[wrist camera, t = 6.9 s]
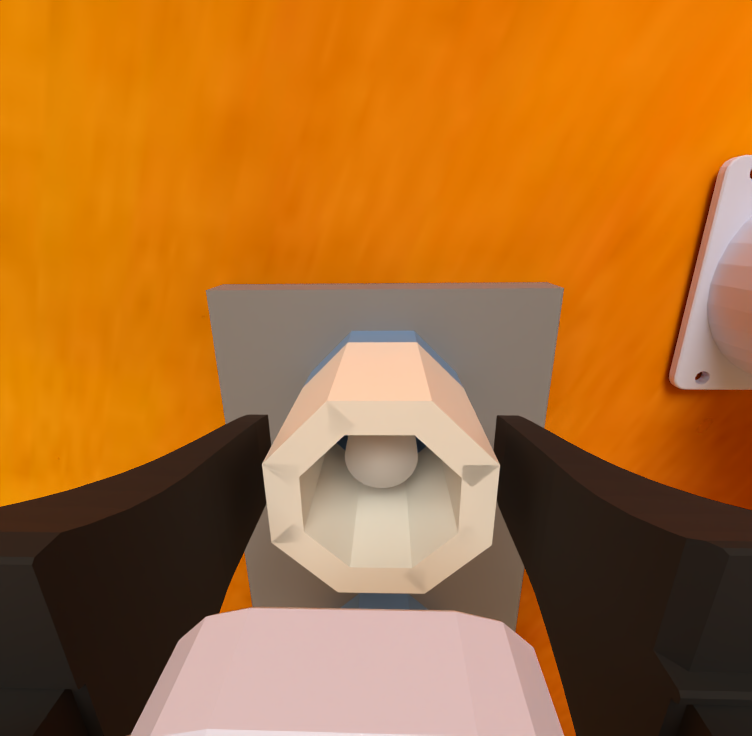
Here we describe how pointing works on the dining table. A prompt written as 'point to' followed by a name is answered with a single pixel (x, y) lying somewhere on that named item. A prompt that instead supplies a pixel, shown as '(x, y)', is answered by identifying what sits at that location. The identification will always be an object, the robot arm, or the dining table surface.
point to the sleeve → (382, 505)
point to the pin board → (453, 330)
